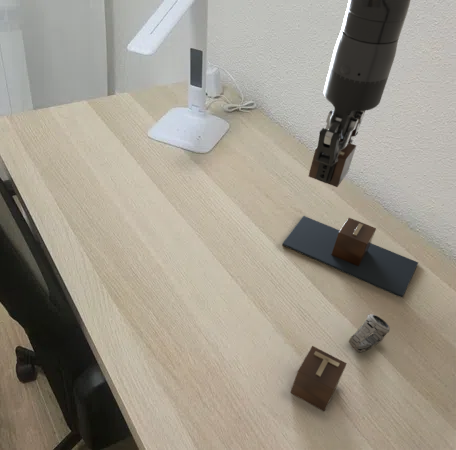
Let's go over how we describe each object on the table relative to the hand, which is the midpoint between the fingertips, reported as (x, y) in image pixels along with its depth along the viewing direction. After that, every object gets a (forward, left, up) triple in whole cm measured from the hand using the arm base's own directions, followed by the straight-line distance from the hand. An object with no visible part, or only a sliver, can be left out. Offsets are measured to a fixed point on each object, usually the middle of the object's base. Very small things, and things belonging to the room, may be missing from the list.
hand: (329, 171), depth 84 cm
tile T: (-12, +26, -15) cm, 32 cm away
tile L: (0, 0, -1) cm, 1 cm away
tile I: (-7, -1, -14) cm, 16 cm away
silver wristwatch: (-15, +15, -15) cm, 26 cm away
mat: (-7, -1, -15) cm, 16 cm away
